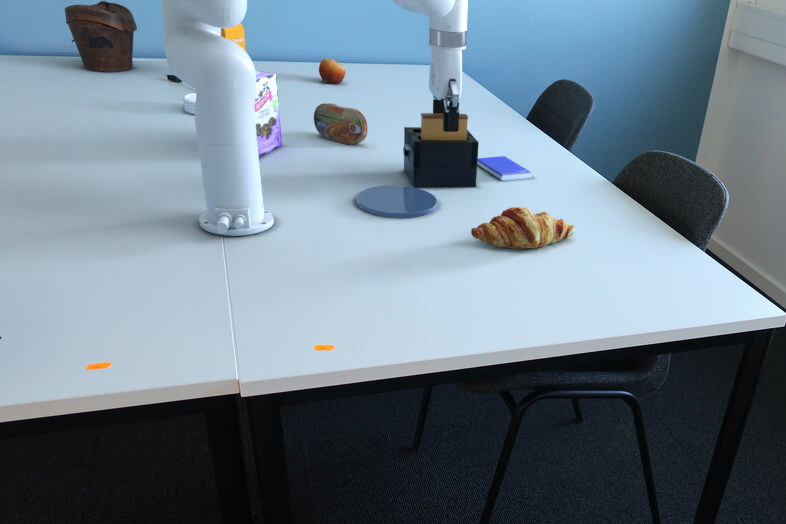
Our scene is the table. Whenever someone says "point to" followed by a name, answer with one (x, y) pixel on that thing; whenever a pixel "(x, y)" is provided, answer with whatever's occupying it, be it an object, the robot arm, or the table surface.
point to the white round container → (190, 103)
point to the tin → (340, 123)
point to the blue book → (504, 168)
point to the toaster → (439, 161)
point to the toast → (441, 127)
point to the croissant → (522, 229)
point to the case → (102, 35)
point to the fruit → (331, 71)
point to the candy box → (267, 113)
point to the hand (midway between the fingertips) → (445, 124)
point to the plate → (396, 201)
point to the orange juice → (235, 35)
